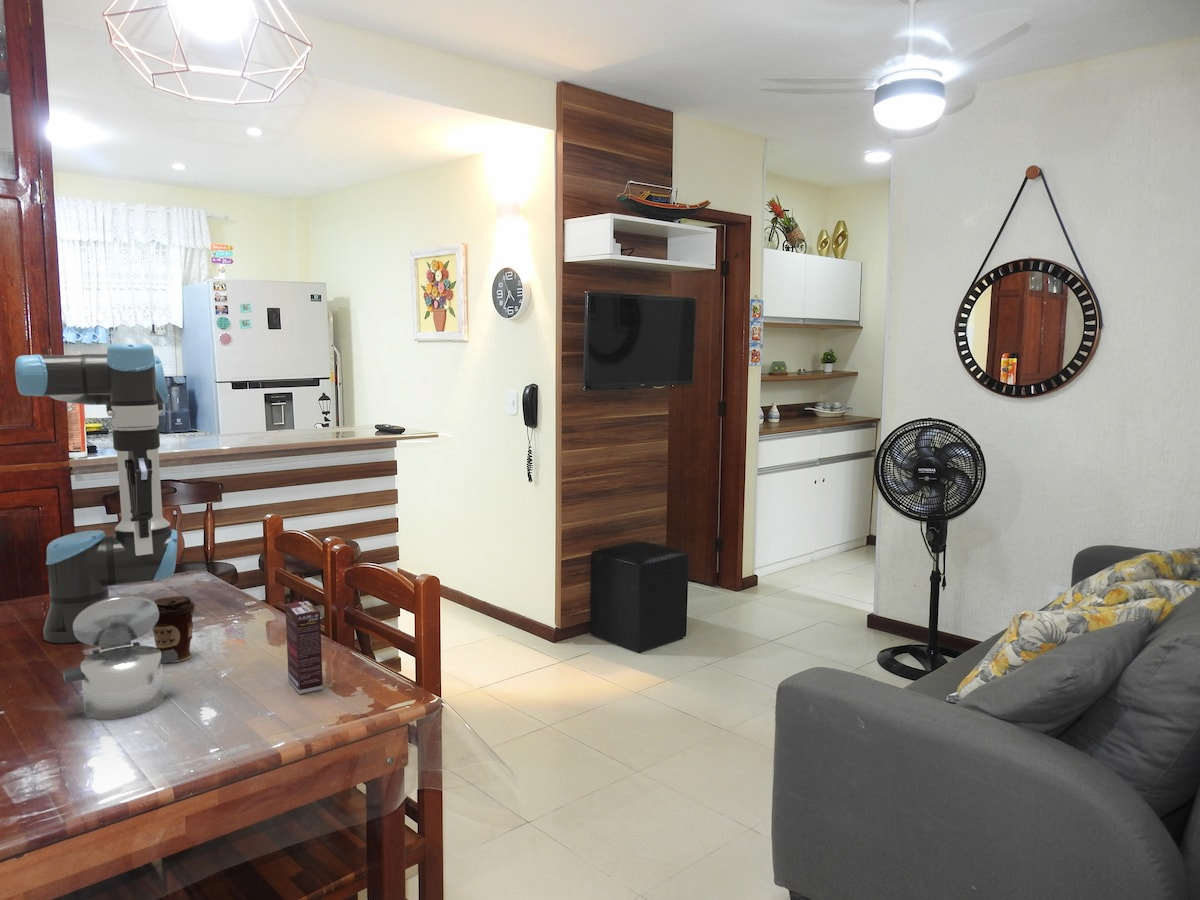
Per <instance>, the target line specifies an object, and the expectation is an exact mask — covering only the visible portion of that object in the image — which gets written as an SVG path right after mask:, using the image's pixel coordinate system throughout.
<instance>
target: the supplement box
mask: <svg viewBox="0 0 1200 900" xmlns="http://www.w3.org/2000/svg"><path fill="white" fill-rule="evenodd" d="M285 624H286V625H285V626H286V628H285V629H286V648H287V649H286V651H287V653H286V654H287V655H286V656H287V677H288V682H289V683H290V685H292V687H293V688H294V689H295V691H296V692H297V693H298V694H299V695H301V694H302V695H303V694H307V693H313V692H318V691H321V690H323V689H324V685H323V683H324V682H323V659H322V658H323V657H322V655H323V654H322V630H321V629H322V628H321V625H322V624H321V611H320V610H319V609H318V608H317V607H316V606H315V605H314V604H313V603H311V602H310V601H309V600H303V601H302V600H301V601H297V602H292V603H291V602H290V603H286V604H285Z"/></svg>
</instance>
